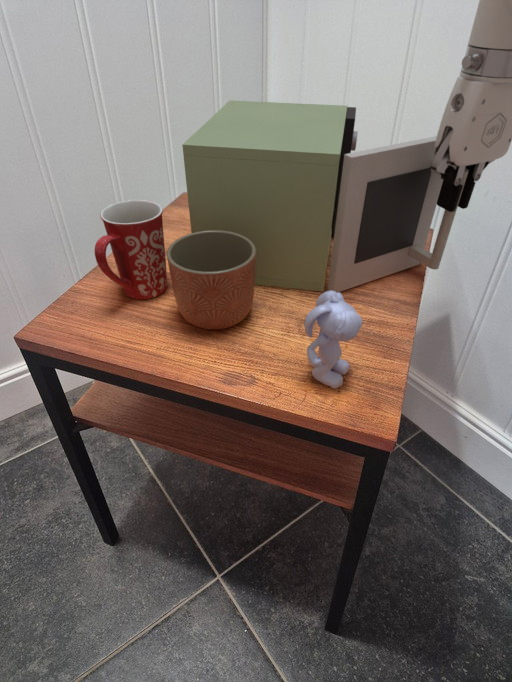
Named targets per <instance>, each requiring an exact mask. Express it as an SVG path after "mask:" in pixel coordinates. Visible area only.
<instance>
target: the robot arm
mask: <svg viewBox="0 0 512 682" xmlns="http://www.w3.org/2000/svg"><path fill="white" fill-rule="evenodd" d="M460 68H461V69H460V72H459V76H457V78H456V80H455V82H454V85H453V87H452V90H451V92H450V95H449V96H448V100H447V102H446V105H445V108H444V111H443V113H442V117H441V121H440V124H439V128H438V131H437V134H436V136H437V138H436V142H435V147H434V155H435V158H434V160H433V162H432V164H431V166H430V168H431V169H433V170H435V171H438V172H440V174H441V179H442V180H443V183H442V186H441V190H440V193H439V197H438V200H437V205H436V206H438V207H440V208H441V209H443V210H444V211H445V210H447V211H449V212H453V211H455V209H456V207H457V203H458V200H459V197H460V194H461V191H462V187H463V185H461V184H460V183H461V181H462V177H463V174H464V171H465V168H466V169H468V170H469V172H468V175H467V178H466V181H465V184H464V188H463V191H462V194H461V197H460V201H459V204H458V207H457V208H460V209H464V210H465V209H467V208H468V207H469V204H470V201H471V198H472V195H473V192H474V189H475V187H476V182H478V181H479V180H480V179H481V178H482V175H483V173H484V172H483V171H484V170H485V169H486V168H487V167H488V166H489V165H490V164H491V163H493V162H494V161H496V160H499V159H501V158H503V157H504V156H506V154H507V153H508V152H509V149H510V146H511V144H512V0H479V1H478V5H477V9H476V12H475V16H474V20H473V23H472V27H471V31H470V35H469V38H468V43H467V45H466V50H465V53H464V56H463V58H462V60H461V67H460ZM453 165H454V166H457V167H456V171H455V169H454V167H452V166H453Z"/></svg>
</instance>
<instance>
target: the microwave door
mask: <svg viewBox="0 0 512 682" xmlns="http://www.w3.org/2000/svg"><path fill="white" fill-rule="evenodd" d="M436 138H437V135H434V136H430V137H425V138H424V137H423V138H420V139H415V140H410V141H409V140H408V141H405V142H400V143H394V144H389V145H384V146H379V147H374V148H370V149H364V150H358V151H353V152H351V153H348V154H344V162H343V170H342V177H341V185H340V193H339V201H338V209H337V217H336V225H335V233H334V236H333V242H332V250H331V256H330V257H331V258H330V266H329V273H328V281H327V290H326V291H330V290H333V291H335V292H336V293H338V292H340V293H342V292H343V291H347V290H349V289H352V288H355V287H357V286H361V285H364V284H367V283H370V282H372V281H375V280H378V279H381V278H385V277H388V276H390V275H393V274H396V273H399V272H401V271H404V270H407V269H410V268H413V267H416V266H419V265H421V264H422V265H424V266H426V267H427V268H429V269H430V270H438V269H439V268H440V265H441V261H442V259H443V255H444V252H445V249H446V246H447V242H448V240H449V235H450V234H451V229H452V226H453V224H454V219H455V217H456V214H457V210H458V208H459V207H458V204H459V201H460V197H461V194H462V191H463V188H464V184H465V181H466V178H467V175H468V172H469V170H468V169H466V168H465V171H464V174H463V177H462V181H461V183H460V184H461V185H463V187H462V191H461V194H460V197H459V200H458V203H457V207H456V209H455V211H453V212H449V211H447V210H445V209H444V211H443V214H442V219H441V221H440V225H439V229H438V231H437V232H438V233H437V236H436V239H435V242H434V246H433V249H432V252H431V251H429V250H427V249H425V247H426V244H427V241H428V237H429V233H430V229H431V226H432V223H433V219H434V216H435V212H436V207H437V206H438V205H437V200H438V197H439V193H440V190H441V186H442V183H443V180H442V179H441V174H440V172H438V171H435V170H433V169H431V168H430V166H431V164H432V162H433V160H434V158H435V155H434V147H435V142H436ZM452 167H454V169H455V171H456V167H457V166H454V165H453V166H452Z"/></svg>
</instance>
